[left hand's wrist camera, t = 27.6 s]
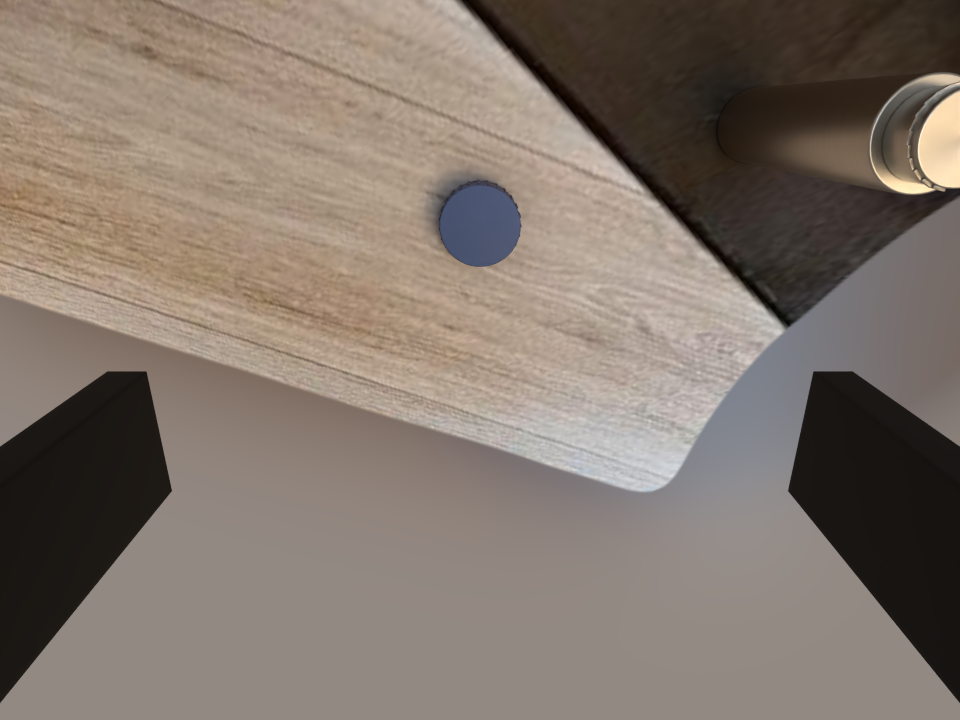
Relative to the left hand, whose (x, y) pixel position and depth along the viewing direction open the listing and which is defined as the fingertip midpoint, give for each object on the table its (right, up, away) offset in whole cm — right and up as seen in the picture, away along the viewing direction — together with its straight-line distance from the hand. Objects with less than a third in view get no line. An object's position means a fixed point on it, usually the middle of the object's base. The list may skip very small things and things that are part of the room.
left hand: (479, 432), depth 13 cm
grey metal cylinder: (+16, +15, +24) cm, 33 cm away
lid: (0, +9, +25) cm, 26 cm away
